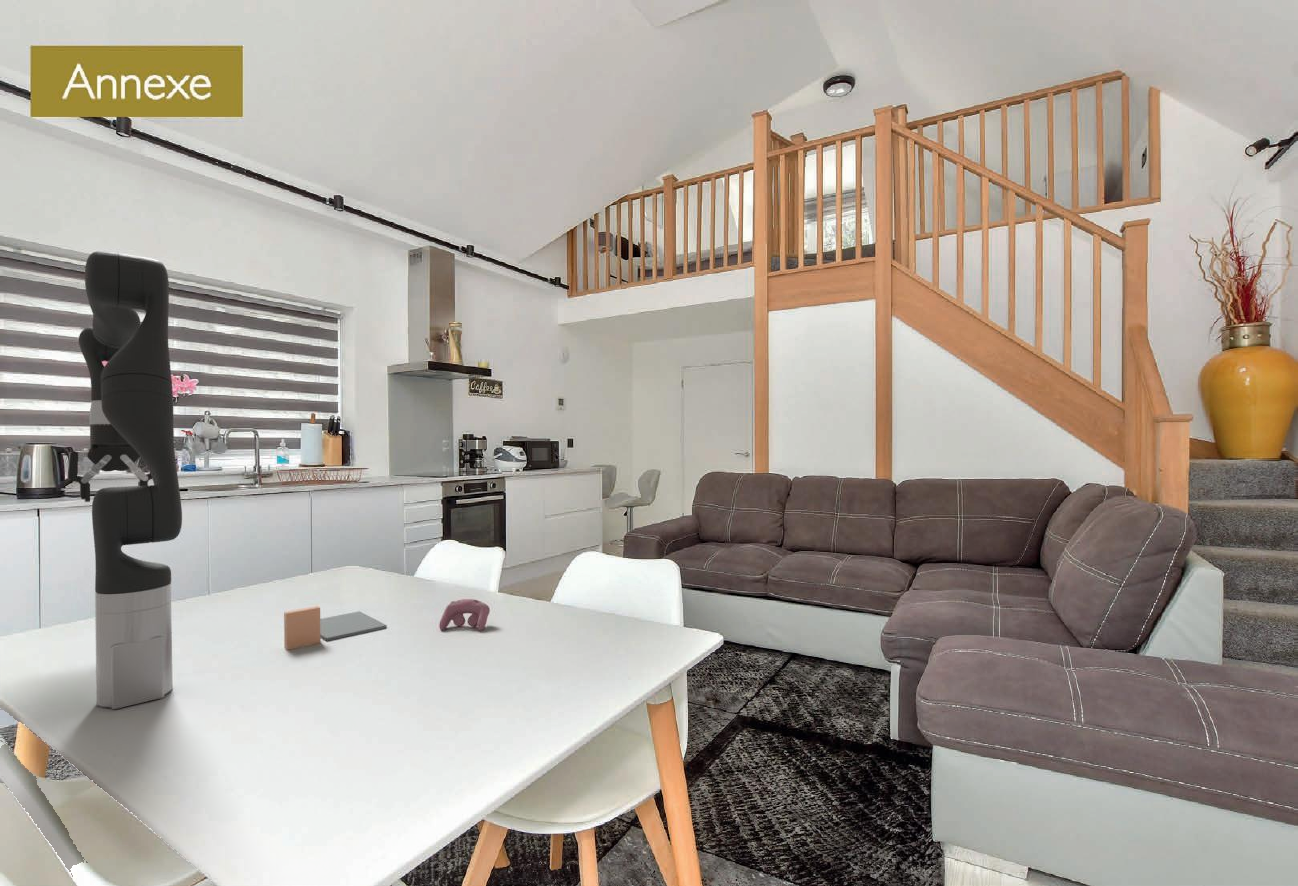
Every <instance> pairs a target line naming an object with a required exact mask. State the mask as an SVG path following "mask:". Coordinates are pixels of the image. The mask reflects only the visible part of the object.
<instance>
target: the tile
mask: <svg viewBox="0 0 1298 886" xmlns="http://www.w3.org/2000/svg"><path fill="white" fill-rule="evenodd" d="M320 619H321V607H320V606H318V605H317V606H311V607H305V608H299V609H295V610H289V611H284V612H283V622H284V623H283V627H284V628H283V630H284V631H283V632H284V634H283V635H284V639H283V640H284V646H283V647H284V650H287V651H288V650H293V649H296V648H301V647H306V646H309V645H315V644H319V643H321V639H322V638H321V636H320Z"/></svg>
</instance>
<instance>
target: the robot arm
mask: <svg viewBox="0 0 1298 886" xmlns="http://www.w3.org/2000/svg"><path fill="white" fill-rule="evenodd" d="M84 269H85V270H84V284H85V285H84V287H85V292H86V296H87V301H88V303H89V306H90V310H91V313H92V316H93V317H92V323H91V324H92V326H87V327H85V328H84V329H82V330H81V332H80V333H79V336H78V345H79V348H80V351H81V354H82V357H83V358H84V361H85V364H86V365H87V369H88V372H89V377H90V389H91V390H90V393H91V395H90V397H91V399H90V401H91V402H90V410H89V419H88V421H89V446H90V447H89V450H88V451H86V452H85V451H84V452H83V451H75V450H73V451H71V452H69V454H68V456H69V457H68V466H67V467H68V469H67V480H69V481H71V482H75V483H76V482H77V483H78V484H79V497H80V499H81V500H84V502H85V503H91V483H89V482H90V481H91V480H92V479H93V477H95V476H96V475H97V474H98V473H99V472H100V471H102V472H113V471H116V472H117V471H118V472H125V471H128V470H129V472H131V473H132V474H133V475H134V476H135V477H137V478H138V480H139V481H137V485H131V486H130V485H129V486H113V487H112V486H111V487H109V486H108V487H102V488H100V489H99V490H97V491H96V493H95V494H94V496H93V499H92V504H91V505H92V506H91V520H92V532H93V542H94V543H93V545H94V546H93V547H94V554H95V555H94V556H95V557H94V558H95V574H94V575H95V580H94V582H95V585H94V590H95V591H94V592H95V593H94V597H95V598H94V601H95V602H94V603H95V610H94V611H95V612H94V613H95V614H94V615H95V617H94V619H95V620H94V621H95V622H94V623H95V680H96V682H95V684H96V705H97V706H98V707H102V708H111V710H116V709H121V708H126V707H129V706H133V705H137V704H142V703H145V702H149V701H150V702H151V701H154V700H159V699H162V698H164V697H165V695H166V694H168V693H169V692H170V691H172V690H173V640H172V639H173V636H172V635H173V634H172V633H173V632H172V630H173V628H172V627H173V626H172V625H173V624H172V621H173V620H172V570H171V568H170V566H168V565H166V564H164V563H159V562H152V561H146V560H142V559H138V558H135V557H132V556H131V555H128V554H126V553H124V552H123V550H122V547H123V546H129V545H130V546H131V545H140V544H143V545H144V544H150V543H153V544H154V543H160V542H161V543H162V542H169V541H173V540H176V539H177V538H178V536H179V535H180V533H181V531H182V526H183V525H182V524H183V509H182V499H181V498H182V497H181V491H180V485H179V476H178V469H177V468H178V467H177V459H176V454H175V452H176V451H175V435H174V434H175V433H174V396H173V395H174V391H173V380H172V370H171V360H170V351H169V312H170V311H169V308H170V306H169V305H170V304H169V303H170V302H169V301H170V289H169V287H170V283H169V275H168V271H167V268H166V266H165V264H164V263H163V262H161V261H160V260H157V259H154V258H150V257H144V256H138V255H130V254H126V253H118V252H112V251H98V250H97V251H93V252H92V253H91V254H89V255H88V257H87V259H86V262H85V267H84ZM136 310H141V311H145V315H144V318H143V319H142V322H141V319H140V316H139V314H138V312H137V311H136ZM103 362H107V363H105V365H104V364H103ZM85 458H87V459H89V460H90V462H91V463H93V465H91V467H90V468H89V469H88V470H87V471H86V472H85V474H83V475H82V476H81V475H78V466H79V463H81V462H83V461H84V459H85ZM140 458H141V460H142V461H143V463H144V465H145V466H146V467H147V470H148V471H149V473H145V472H144V471H143V469H141V468H140V467H139V466H138V465H137V464H136V462H137V461H138V460H139V459H140ZM150 480H152V481H153V484H152V485H151V484H150V485H149V481H150Z"/></svg>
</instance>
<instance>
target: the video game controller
mask: <svg viewBox="0 0 1298 886" xmlns="http://www.w3.org/2000/svg"><path fill="white" fill-rule="evenodd" d="M490 611H491V610H490V607H489V605H488V604H486V603H485V602H483V601H481V600H478V599H473V598H472V599H471V598H462V599H459V600H452V601H451V602H449V604H447V606H446V607H445V609H444V611H443V613H442V615H441V618H440V621H439V624H438V626H439V629H440V631H444V630H445V629H447V628H448V626H449V625H450V623H451V622H452V621H453V625H454V626H456V627H458V628H459V627H462V626H464V625H465V623H466V618H465V616H464V615H465V614H471V615H470V616H468V618H467V625H468V626H470V627H471V628H476V627H477V631H479V632H481V631H484V629H485V627H486V624H487V621H488V618H489V617H488V616H489V615H490Z"/></svg>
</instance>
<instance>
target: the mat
mask: <svg viewBox="0 0 1298 886" xmlns="http://www.w3.org/2000/svg"><path fill="white" fill-rule="evenodd" d="M384 629H387V624H385V623H383V622H381V621H379V620H377V619H376V618H373V617H372V616H369V614H365V613H363V612H362V611H354V612H348V613H344V614H338V615H334V616H329V617H323V618H320V636H321V639H322V640H324V641H325V642H328V641H332V640H338V639H341V638H348V637H352V636H356V635H361V634H364V633H369V632H374V631H378V630H379V631H380V630H384Z"/></svg>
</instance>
